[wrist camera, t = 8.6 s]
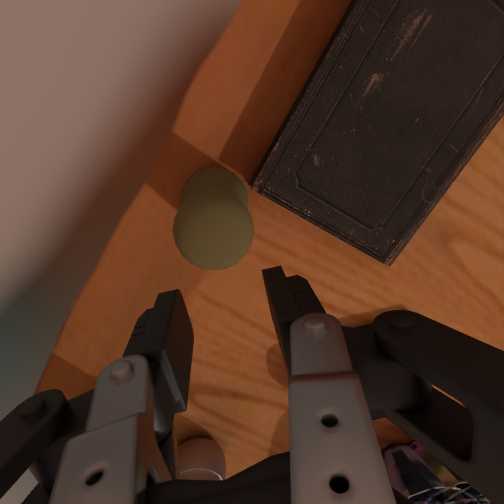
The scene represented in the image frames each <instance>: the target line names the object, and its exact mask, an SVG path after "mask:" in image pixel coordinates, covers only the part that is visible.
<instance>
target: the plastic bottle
mask: <svg viewBox="0 0 504 504" xmlns="http://www.w3.org/2000/svg"><path fill="white" fill-rule="evenodd" d="M178 459H179V470H180V479H188V480H225V476H226V461H225V456H224V452H223V450H222V448H221V447H220V446H219V445H218V444H217V443H216V442H215V441H213V440H211V439H207V438H193V439H190V440H187V441H185V442H184V443H182V444H181V445H180V446H179V447H178Z"/></svg>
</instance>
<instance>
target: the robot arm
mask: <svg viewBox="0 0 504 504" xmlns="http://www.w3.org/2000/svg"><path fill="white" fill-rule="evenodd" d="M262 274H263V279H264V284H265V289H266V293H267V298H268V303H269V307H270V312H271V316H272V320H273V323H274V327H275V330H276V334H277V337H278V341H279V344H280V348H281V351H282V354H283V358H284V361H285V365H286V368H287V372H288V375H289V378H288V393H289V434H290V452H285V453H281V454H277V455H273V456H270V457H268V458H266V459H264V460H262V461H260V462H259V463H257V464H255V465H253V466H251V467H249V468H247V469H245V470H243V471H241V472H239V473H237V474H235V475H234V476H232V477H230V478H228V479H225V480H188V479H180V470H179V459H178V447H177V436H176V430H175V428H174V425H173V420H174V414H175V413H179V412H184V411H186V410H187V401H188V391H189V382H190V372H191V363H192V353H193V344H194V334H193V328H192V324H191V321H190V318H189V315H188V312H187V309H186V306H185V303H184V300H183V296H182V294H181V291H180V290H179V289H176V290H172V291H168V292H163V293H159V294H158V296H157V299H156V302H155V305H154V308H151V309H147V310H146V311H145V312H144V313H143V314H142V315H141V316H140V317H139V318H138V320H137V322H136V325H135V327H134V328H135V329H134V330H133V332H132V334H131V337H130V339H129V342H128V344H127V347H126V349H125V352H124V354H123V356H122V358H120V359H118V360H116V361H114V362H113V363H111V364H110V365H108V366H107V367H106V368H105V369H104V370H103V371H102V372H101V373H100V374H99V376H98V378H97V380H96V384H95V388H94V389H92V390H90V391H88V392H86V393H84V394H82V395H79V396H77V397H75V398H73V399H71V400H68V401H67V399H66V398H65V396H64V394H63V392H62V391H60V390H57V389H52V390H47V391H43V392H40V393H38V394H36V395H34V396H32V397H30V398H28V399H27V400H25V401H24V402H22V403H21V404H19V405H18V406H17V407H16V408H15V409H14V410H13V411H12V412H10V413H9V414H8V415H7V416H6V417H5V418H4V419H3V420H1V421H0V499H1V498H2V497H3V496H4V494H5V493H6V492H7V491H8V490H9V489H10V488H11V487H12V485H13V484H14V483H15V482H16V481H17V480H18V479H19V478H20V477H21V475H22V474H23V473H24V472H25V471H26V470H27V469H28V468H29V470H30V471H31V473H32V474H33V475H34V477H35V479H36V480H37V481H38V484H37V485H36V487H35V488H34V489H33V490H32V491H31V493H30V494H29V495H28V496H27V497H26V499H25V500H24V501H23V502H22V503H21V504H416V503H414V502H413V501H411V500H410V499H408V498H407V497H406V496H404V495H403V494H401V493H400V492H399V491H397V490H396V489H394V488H393V487H392V486H391V484H390V481H389V477H388V474H387V470H386V467H385V464H384V460H383V457H382V453H381V450H380V447H379V443H378V440H377V436H376V433H375V430H374V426H373V423H372V419H371V416H370V413H369V409H381V411H382V413H383V414H384V415H385V416H386V417H387V418H388V419H389V420H390V421H392V422H393V423H394V424H395V425H397V426H398V427H399V428H400V429H402V430H403V431H404V432H405V433H406V434H408V435H409V436H410V437H411V438H413V439H414V440H415V441H416V442H418V443H419V444H420V445H421V446H423V447H424V448H425V449H426V450H427V451H429V452H430V453H431V454H432V455H434V456H435V457H436V458H437V459H439V460H440V461H441V462H442V463H443V464H445V465H446V466H447V467H448V468H450V469H451V470H452V471H453V472H455V473H456V474H457V475H458V476H459V477H461V478H462V479H463V480H464V481H466V482H467V483H468V484H469V485H471V486H472V487H473V488H474V489H475V490H477V491H478V492H479V493H480V494H482V495H483V496H484V497H485V498H487V499H488V500H489V501H490V502H491V503H493V504H504V351H502V350H500V349H498V348H495V347H493V346H491V345H489V344H486V343H484V342H482V341H479V340H477V339H475V338H473V337H470V336H468V335H466V334H464V333H461V332H459V331H457V330H454V329H452V328H450V327H448V326H445V325H443V324H441V323H439V322H436V321H434V320H432V319H430V318H427V317H425V316H423V315H420V314H418V313H415V312H412V311H406V310H393V311H387V312H384V313H382V314H380V315H378V316H377V317H376V318H375V319H374V321H373V328H349V327H344V326H341V324H340V322H339V320H338V319H337V318H335V317H334V316H332V315H329V314H327V313H326V312H325V310H324V308H323V307H322V305H321V303H320V301H319V300H318V298H317V296H316V295H315V293H314V291H313V290H312V288H311V286H310V285H309V283H308V281H307V280H306V279H304V278H302V277H301V276H299V275H295V276H291V277H286V276H285V274H284V272H283V269H282V267H281V266H277V267H273V268H268V269H264V270H262ZM432 384H433V385H434V386H436V387H438V388H439V389H441V390H442V391H444V392H446V393H447V394H449V395H451V396H452V397H454V398H455V399H457V400H458V401H460V402H461V403H462V404H463V405H464V406H465V407H466V408H465V407H464V406H462V405H460V404H459V403H457V402H456V401H454V400H452V399H451V398H449V397H448V396H446V395H444V394H443V393H441V392H440V391H438V390H436V389H435V388H433V387H432Z"/></svg>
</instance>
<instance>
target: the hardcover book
mask: <svg viewBox="0 0 504 504" xmlns="http://www.w3.org/2000/svg"><path fill="white" fill-rule="evenodd" d="M503 115H504V0H352V1H351V3H350V5H349V7H348V8H347V10H346V12H345V14H344V15H343V17H342V19H341V21H340V23H339V24H338V26H337V28H336V30H335V32H334V33H333V35H332V37H331V39H330V40H329V42H328V44H327V46H326V48H325V49H324V51H323V53H322V55H321V56H320V58H319V60H318V62H317V64H316V65H315V67H314V69H313V71H312V72H311V74H310V76H309V78H308V80H307V81H306V83H305V85H304V87H303V88H302V90H301V92H300V94H299V96H298V97H297V99H296V101H295V103H294V104H293V106H292V108H291V110H290V112H289V113H288V115H287V117H286V119H285V120H284V122H283V124H282V126H281V128H280V129H279V131H278V133H277V135H276V136H275V138H274V140H273V142H272V144H271V145H270V147H269V149H268V151H267V152H266V154H265V156H264V158H263V160H262V161H261V163H260V165H259V167H258V168H257V170H256V172H255V174H254V176H253V177H252V179H251V181H250V183H249V185H250V186H251V189H252V190H254V191H256V192H258V193H260V194H261V195H263V196H265V197H267V198H268V199H270V200H272V201H274V202H275V203H277V204H279V205H281V206H283V207H284V208H286V209H288V210H290V211H291V212H293V213H295V214H297V215H299V216H300V217H302V218H304V219H306V220H307V221H309V222H311V223H313V224H314V225H316V226H318V227H320V228H322V229H323V230H325V231H327V232H329V233H330V234H332V235H334V236H336V237H337V238H339V239H341V240H343V241H345V242H346V243H348V244H350V245H352V246H353V247H355V248H357V249H359V250H361V251H362V252H364V253H366V254H368V255H369V256H371V257H373V258H375V259H376V260H378V261H380V262H382V263H384V264H385V265H387V266H391V265H392V263H393V262H394V261H395V259H396V258H397V257H398V255H399V254H400V253H401V251H402V250H403V249H404V247H405V246H406V245H407V243H408V242H409V241H410V239H411V238H412V237H413V235H414V234H415V233H416V231H417V230H418V228H419V227H420V226H421V224H422V223H423V222H424V220H425V219H426V218H427V216H428V215H429V214H430V212H431V211H432V210H433V208H434V207H435V206H436V204H437V203H438V202H439V200H440V199H441V198H442V196H443V195H444V194H445V192H446V191H447V190H448V188H449V187H450V186H451V184H452V183H453V182H454V180H455V179H456V178H457V176H458V175H459V174H460V172H461V171H462V170H463V168H464V167H465V166H466V164H467V163H468V162H469V160H470V159H471V158H472V156H473V155H474V153H475V152H476V151H477V149H478V148H479V147H480V145H481V144H482V143H483V141H484V140H485V139H486V137H487V136H488V135H489V133H490V132H491V131H492V129H493V128H494V127H495V125H496V124H497V123H498V121H499V120H500V119H501V117H502V116H503Z"/></svg>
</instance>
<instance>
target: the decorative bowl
mask: <svg viewBox="0 0 504 504" xmlns="http://www.w3.org/2000/svg"><path fill="white" fill-rule="evenodd" d="M382 457H383V460H384V464H385V467H386V470H387V474H388V477H389V481H390V484H391V486H392V487H393V488H394V489H396V490H397V491H399V492H400V493H401V494H403V495H404V496H406V497H407V498H408V499H410V500H411V501H413V502H414V503H416V504H493V503H491V502H490V501H489V500H488V499H487V498H485V497H484V496H483V495H482V494H480V493H479V492H478V491H477V490H475V489H474V488H473V487H472V486H471V485H469V484H468V483H467V482H466V481H464V480H463V479H462V478H461V477H459V476H458V475H457V474H456V473H455V472H453V471H452V470H451V469H450V468H448V467H447V466H446V465H445V464H443V463H442V462H441V461H440V460H439V459H437V458H436V457H435V456H434V455H432V454H431V453H430V452H429V451H427V450H426V449H425V448H424V447H423V446H421V445H420V444H419V443H418V442H416V441H415V442H413V443H412V444H411V445H410V446H407V445H393V444H392V445H391V446H390V447H389V448H387V449H386V450H385V451H384V452H383V455H382Z"/></svg>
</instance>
